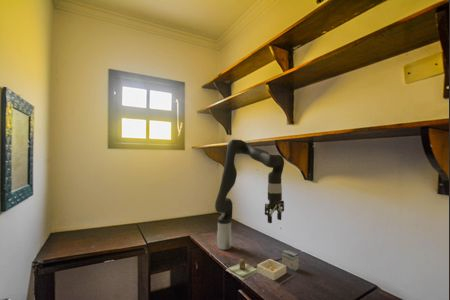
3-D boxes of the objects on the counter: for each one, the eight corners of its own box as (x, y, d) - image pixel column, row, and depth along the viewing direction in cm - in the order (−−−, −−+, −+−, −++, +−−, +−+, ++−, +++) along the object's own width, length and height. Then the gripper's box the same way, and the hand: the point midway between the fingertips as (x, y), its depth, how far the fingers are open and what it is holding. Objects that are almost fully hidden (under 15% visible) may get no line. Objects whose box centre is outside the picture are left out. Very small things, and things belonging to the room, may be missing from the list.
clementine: (267, 272, 124) (267, 266, 124) (271, 270, 126) (271, 264, 126) (272, 274, 122) (272, 268, 122) (275, 272, 124) (275, 266, 124)
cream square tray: (256, 273, 124) (256, 264, 124) (269, 266, 132) (269, 258, 132) (273, 281, 116) (273, 272, 116) (286, 274, 123) (286, 265, 123)
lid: (228, 269, 127) (228, 259, 127) (242, 263, 134) (242, 254, 134) (242, 278, 118) (242, 267, 119) (256, 270, 126) (256, 260, 126)
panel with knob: (225, 270, 127) (225, 269, 127) (242, 263, 135) (242, 262, 135) (242, 280, 117) (242, 279, 117) (259, 272, 126) (259, 270, 126)
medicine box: (281, 266, 131) (281, 251, 131) (286, 264, 134) (286, 249, 135) (294, 272, 126) (294, 255, 126) (298, 269, 129) (298, 253, 129)
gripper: (276, 189, 133) (276, 217, 133) (260, 192, 124) (260, 222, 124) (288, 190, 128) (288, 220, 128) (272, 194, 118) (272, 225, 118)
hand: (274, 221), depth 126 cm, fingers open, 8 cm apart
